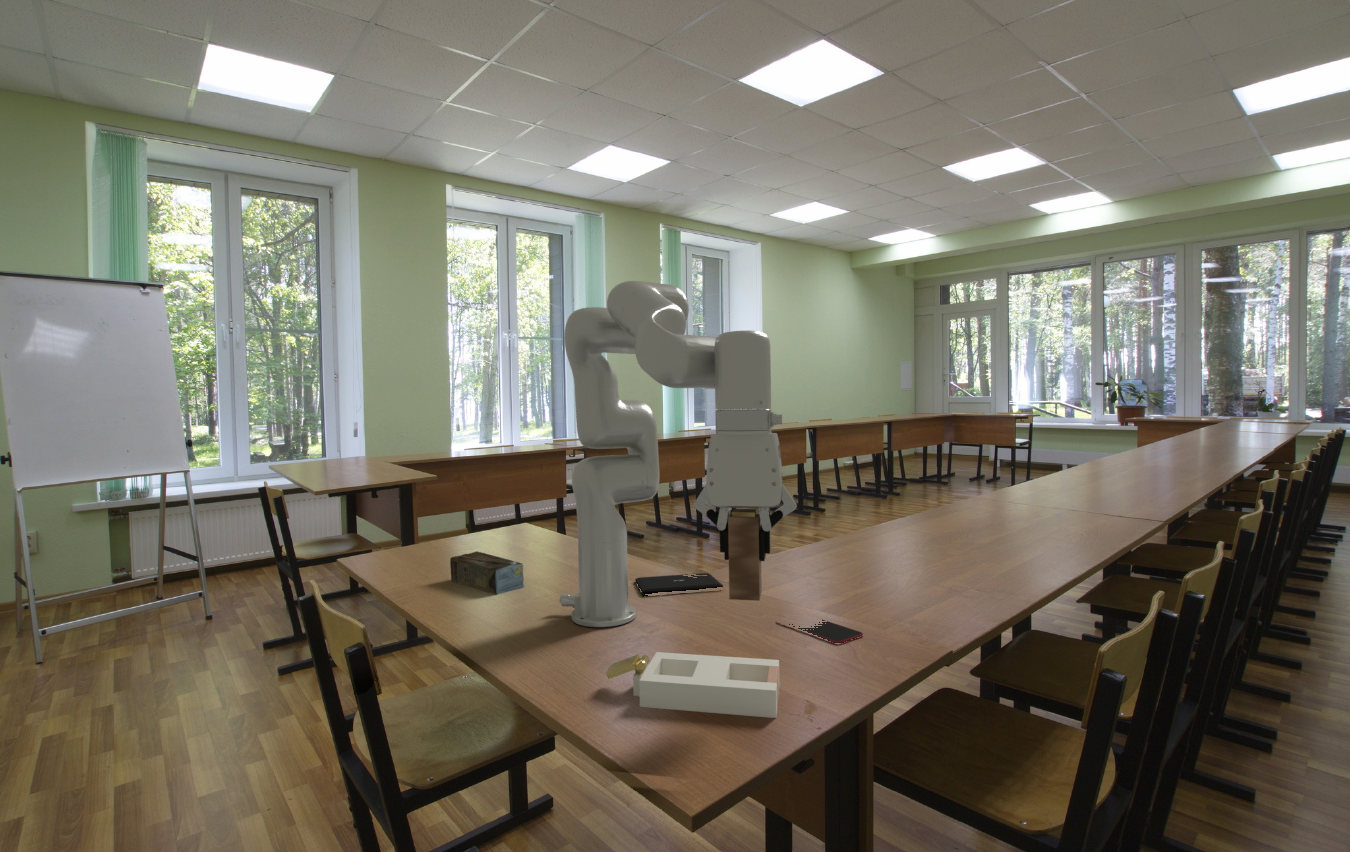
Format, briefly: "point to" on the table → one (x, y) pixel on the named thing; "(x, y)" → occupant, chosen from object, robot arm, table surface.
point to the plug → (744, 555)
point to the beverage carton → (487, 572)
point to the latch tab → (628, 666)
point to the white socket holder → (709, 684)
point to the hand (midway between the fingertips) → (745, 557)
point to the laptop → (676, 583)
